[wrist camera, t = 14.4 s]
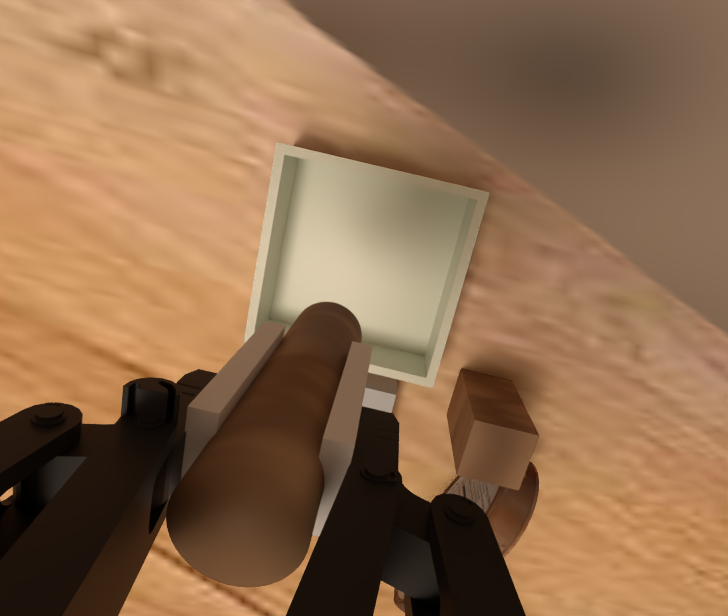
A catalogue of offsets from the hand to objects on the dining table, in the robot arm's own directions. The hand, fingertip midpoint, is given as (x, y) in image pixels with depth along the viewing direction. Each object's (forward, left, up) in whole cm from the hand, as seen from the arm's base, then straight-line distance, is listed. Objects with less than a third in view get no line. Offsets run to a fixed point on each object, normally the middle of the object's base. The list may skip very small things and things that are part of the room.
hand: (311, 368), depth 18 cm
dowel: (0, 0, -4) cm, 4 cm away
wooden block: (-11, +8, -19) cm, 23 cm away
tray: (0, -1, -19) cm, 19 cm away
